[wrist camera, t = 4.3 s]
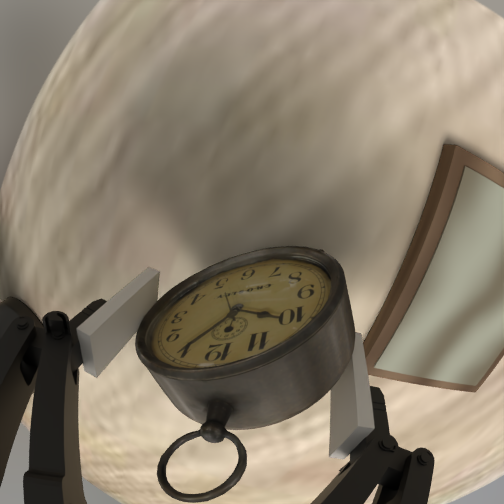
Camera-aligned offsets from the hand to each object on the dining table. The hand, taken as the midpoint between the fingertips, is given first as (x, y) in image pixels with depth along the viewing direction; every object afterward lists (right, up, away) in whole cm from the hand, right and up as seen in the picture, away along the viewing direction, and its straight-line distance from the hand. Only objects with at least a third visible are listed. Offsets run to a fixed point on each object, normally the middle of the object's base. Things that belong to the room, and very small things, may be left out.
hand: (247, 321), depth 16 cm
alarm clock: (+1, +2, +5) cm, 6 cm away
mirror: (+18, +1, +2) cm, 18 cm away
